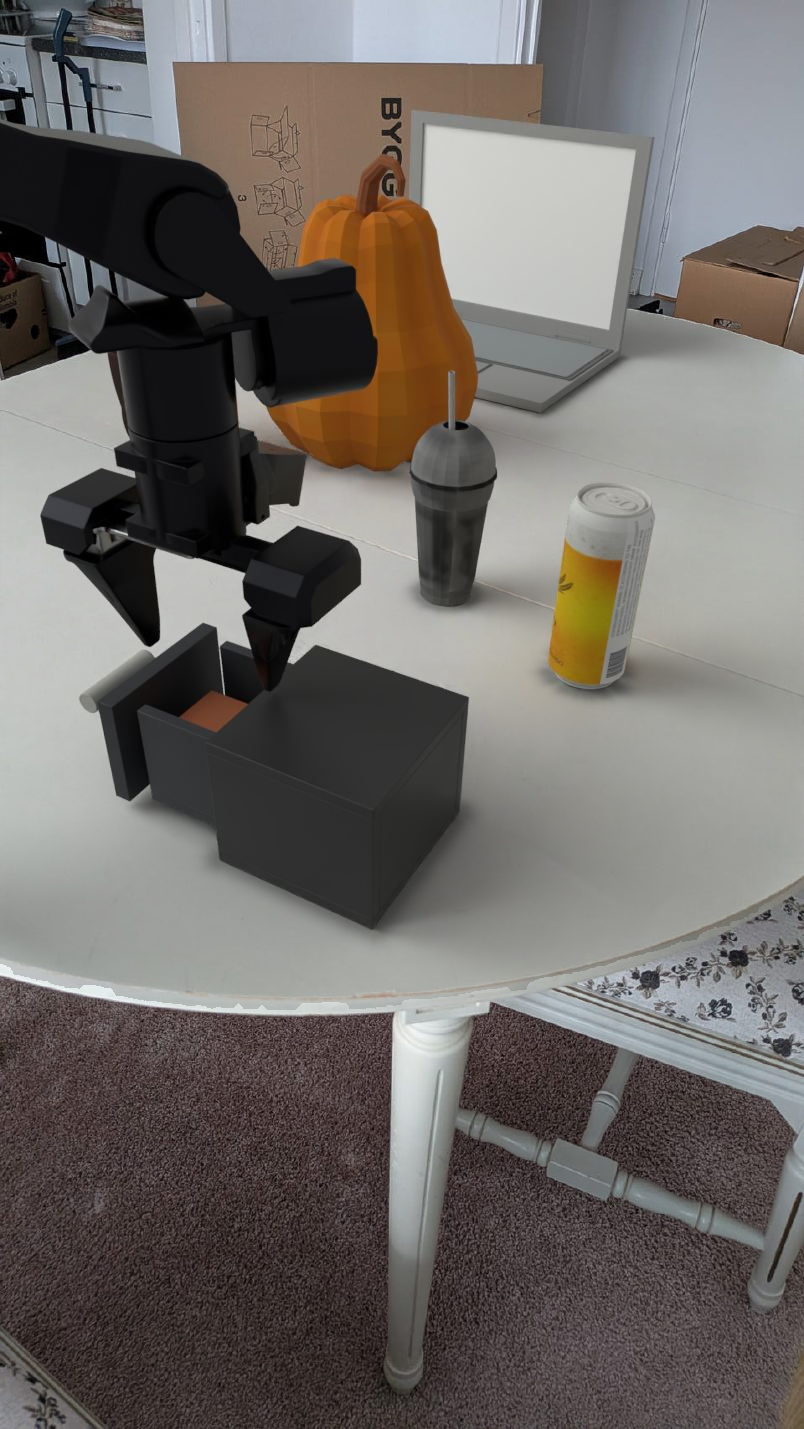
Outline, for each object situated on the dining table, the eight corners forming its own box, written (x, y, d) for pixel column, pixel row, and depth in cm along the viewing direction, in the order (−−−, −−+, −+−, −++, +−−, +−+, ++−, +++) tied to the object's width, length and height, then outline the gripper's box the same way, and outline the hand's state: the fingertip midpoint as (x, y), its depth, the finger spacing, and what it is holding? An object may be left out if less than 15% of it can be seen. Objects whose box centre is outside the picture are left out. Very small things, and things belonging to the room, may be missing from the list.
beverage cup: (501, 587, 90) (523, 364, 77) (461, 623, 85) (478, 391, 72) (432, 564, 93) (442, 346, 80) (389, 598, 88) (393, 371, 75)
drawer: (68, 774, 67) (45, 680, 62) (168, 695, 74) (155, 605, 69) (240, 851, 62) (229, 755, 57) (329, 757, 69) (327, 665, 64)
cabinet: (219, 860, 62) (204, 741, 56) (319, 756, 70) (315, 644, 65) (372, 929, 58) (373, 810, 52) (459, 811, 66) (469, 696, 61)
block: (216, 736, 69) (211, 689, 66) (264, 755, 67) (260, 708, 65) (179, 769, 66) (172, 721, 64) (229, 789, 65) (223, 742, 62)
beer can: (577, 641, 83) (605, 472, 74) (638, 672, 80) (674, 499, 70) (531, 669, 80) (553, 496, 70) (592, 703, 76) (624, 526, 67)
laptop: (310, 358, 137) (303, 130, 120) (409, 313, 155) (415, 109, 138) (540, 413, 123) (569, 165, 106) (620, 357, 141) (655, 136, 124)
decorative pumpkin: (514, 465, 111) (544, 159, 92) (324, 511, 101) (315, 179, 82) (404, 396, 126) (411, 124, 108) (230, 430, 116) (206, 136, 98)
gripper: (413, 408, 54) (405, 646, 64) (146, 347, 61) (175, 570, 71) (300, 483, 47) (310, 741, 56) (8, 403, 53) (62, 645, 63)
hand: (210, 664), depth 62 cm, fingers open, 9 cm apart
